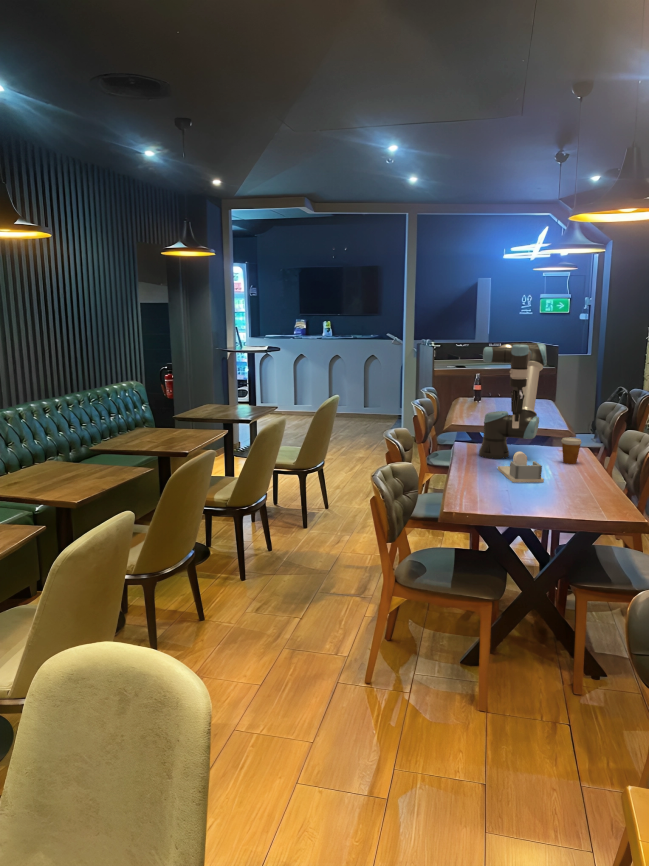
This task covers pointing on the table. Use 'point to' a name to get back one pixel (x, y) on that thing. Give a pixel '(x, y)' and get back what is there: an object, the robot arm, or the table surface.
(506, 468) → the dock
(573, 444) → the disposable coffee cup
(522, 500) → the table surface
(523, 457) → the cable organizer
